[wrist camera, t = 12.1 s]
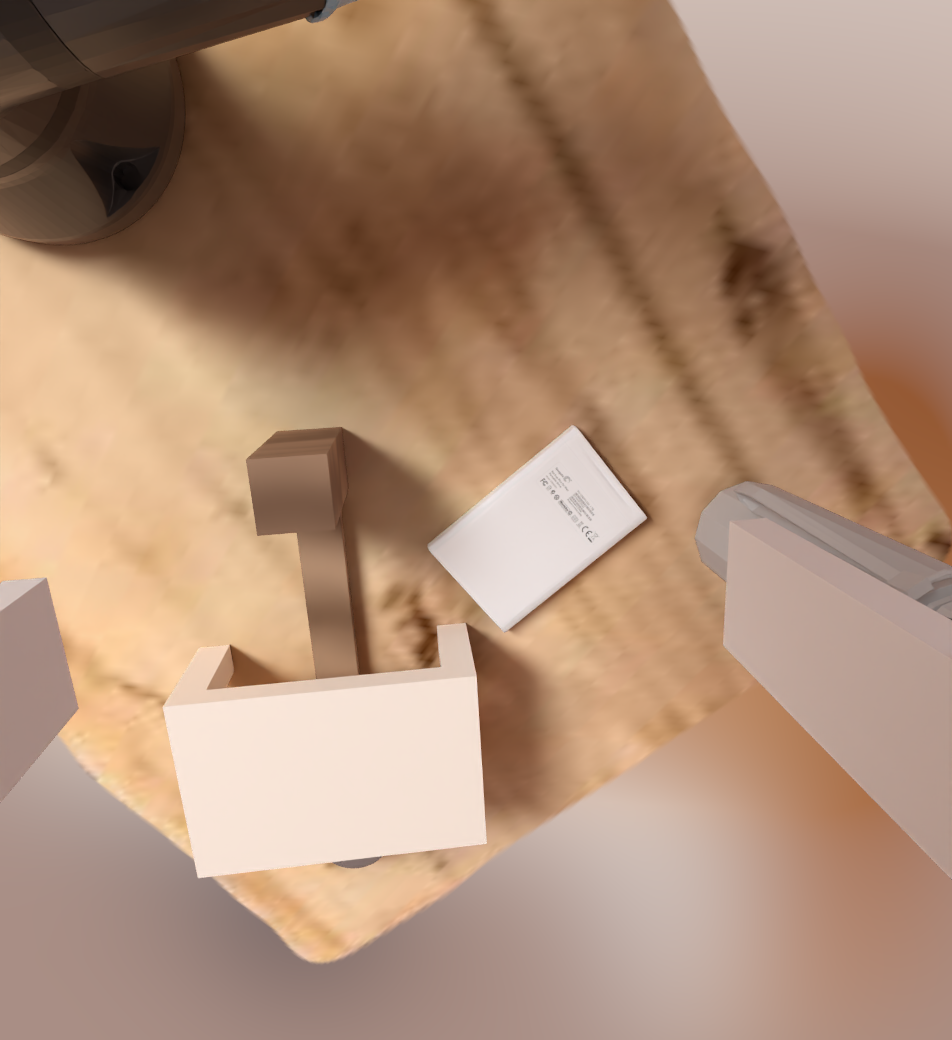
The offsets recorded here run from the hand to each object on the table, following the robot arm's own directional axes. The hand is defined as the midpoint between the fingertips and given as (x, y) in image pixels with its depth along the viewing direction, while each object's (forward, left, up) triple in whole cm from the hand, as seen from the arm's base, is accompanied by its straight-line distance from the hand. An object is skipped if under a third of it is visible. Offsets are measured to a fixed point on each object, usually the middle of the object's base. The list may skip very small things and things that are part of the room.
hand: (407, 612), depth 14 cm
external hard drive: (+9, +8, -32) cm, 35 cm away
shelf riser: (+21, -6, -32) cm, 38 cm away
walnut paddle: (+11, -6, -32) cm, 34 cm away
